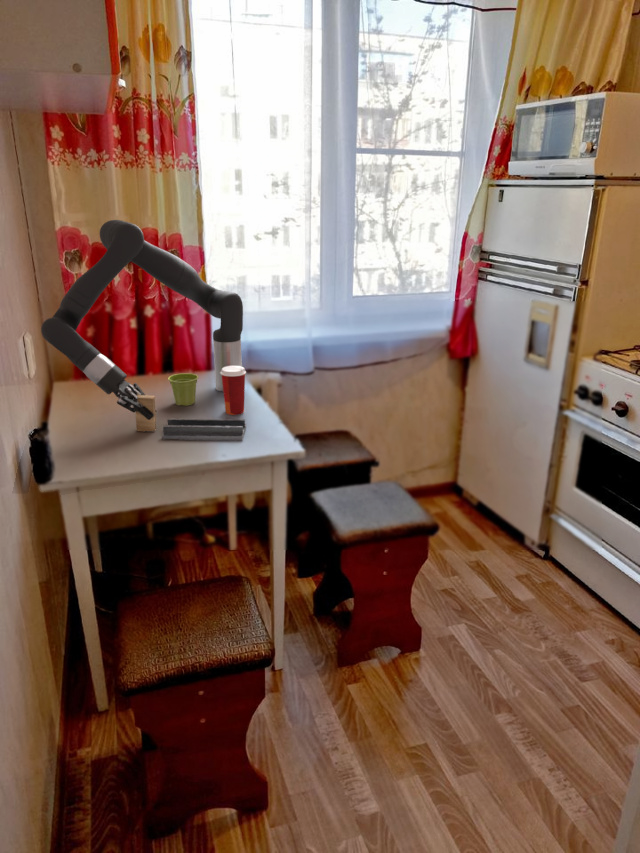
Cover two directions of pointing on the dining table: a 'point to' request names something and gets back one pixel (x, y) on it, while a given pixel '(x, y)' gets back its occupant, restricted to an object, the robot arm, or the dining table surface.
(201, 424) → the door track
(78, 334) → the robot arm
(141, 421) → the wooden block
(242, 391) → the paper cup
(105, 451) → the dining table surface
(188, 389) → the plant pot
